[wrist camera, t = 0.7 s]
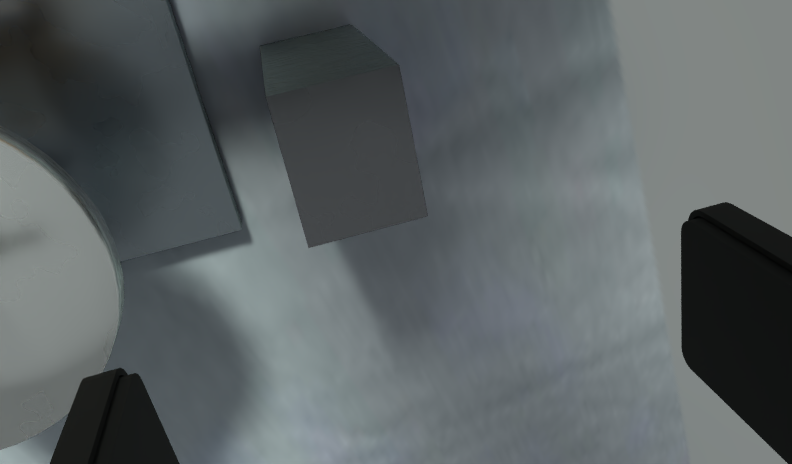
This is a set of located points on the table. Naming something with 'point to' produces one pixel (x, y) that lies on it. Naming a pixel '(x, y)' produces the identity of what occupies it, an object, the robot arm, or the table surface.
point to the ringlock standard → (90, 185)
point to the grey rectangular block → (342, 133)
